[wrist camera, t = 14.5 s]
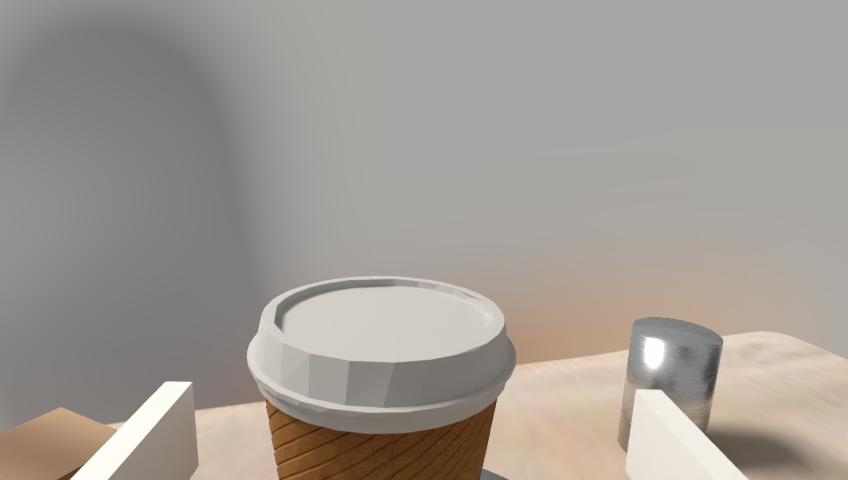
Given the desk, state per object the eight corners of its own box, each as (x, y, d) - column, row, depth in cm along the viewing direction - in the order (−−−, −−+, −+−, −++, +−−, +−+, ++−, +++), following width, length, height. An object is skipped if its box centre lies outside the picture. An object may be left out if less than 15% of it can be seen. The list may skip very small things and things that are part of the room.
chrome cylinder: (634, 416, 36) (649, 311, 34) (711, 447, 32) (732, 333, 31) (605, 445, 32) (620, 330, 30) (688, 484, 29) (710, 356, 27)
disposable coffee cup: (312, 794, 14) (309, 405, 11) (229, 554, 21) (216, 291, 19) (546, 620, 19) (578, 329, 17) (412, 477, 27) (421, 263, 24)
